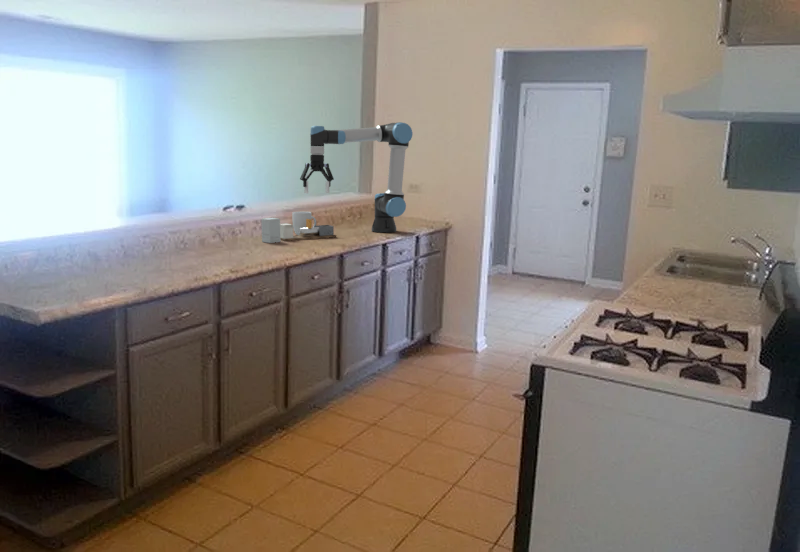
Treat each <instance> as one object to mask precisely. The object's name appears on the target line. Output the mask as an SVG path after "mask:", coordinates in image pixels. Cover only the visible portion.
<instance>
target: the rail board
mask: <svg viewBox="0 0 800 552" xmlns="http://www.w3.org/2000/svg"><path fill="white" fill-rule="evenodd" d="M329 237H333V238H337V235H336V234H334V235H328V236H319V235H305V236H300V235H293V238H289V239H283V238H281V241H282V240H283V241H282V242H291V240H294V241H306V240H317V239H318V240H319V239H330V238H329Z"/></svg>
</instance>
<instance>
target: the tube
mask: <svg viewBox="0 0 800 552" xmlns="http://www.w3.org/2000/svg"><path fill="white" fill-rule="evenodd" d="M312 225H313V224H312V222H311V219H306V228H299V230H298V233H299V235H300V236H305V235H319V227H313V226H312ZM299 235H298V236H299Z"/></svg>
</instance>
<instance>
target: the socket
mask: <svg viewBox="0 0 800 552" xmlns="http://www.w3.org/2000/svg"><path fill="white" fill-rule="evenodd" d="M293 236H294V229H293V224H291V223H280V238H283V239H289V238H293Z"/></svg>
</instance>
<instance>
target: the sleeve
mask: <svg viewBox="0 0 800 552" xmlns="http://www.w3.org/2000/svg"><path fill="white" fill-rule="evenodd" d="M313 226H314V225H313ZM314 227H319V236H328V235H335V234H334V231H335V230H334V227H335V226H334V225H331V224H322V225H321V224H320V225H316V226H314Z"/></svg>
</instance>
